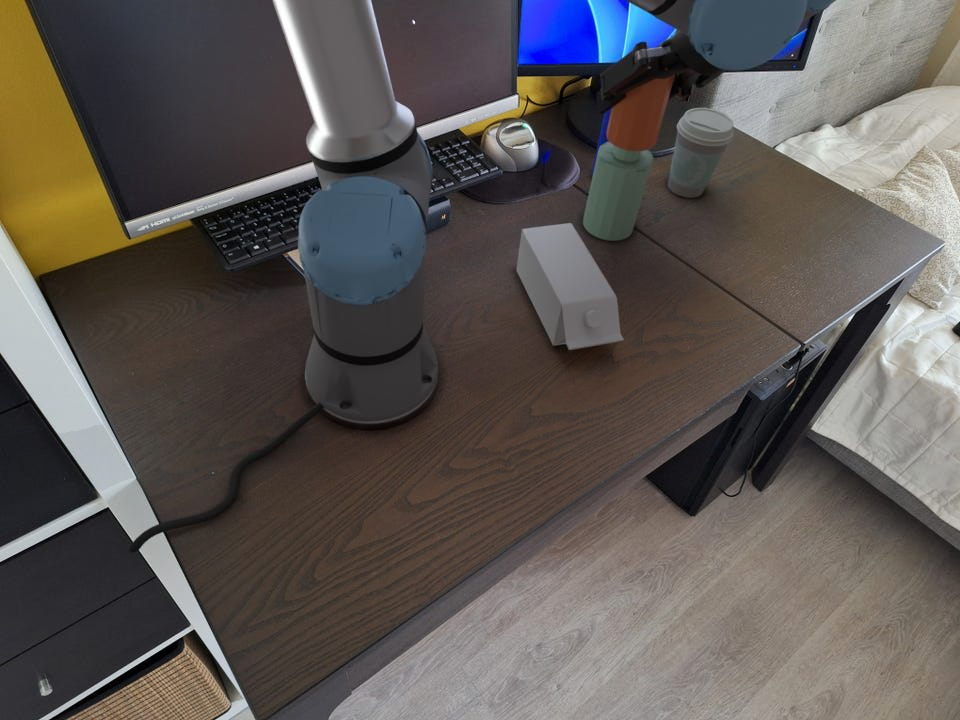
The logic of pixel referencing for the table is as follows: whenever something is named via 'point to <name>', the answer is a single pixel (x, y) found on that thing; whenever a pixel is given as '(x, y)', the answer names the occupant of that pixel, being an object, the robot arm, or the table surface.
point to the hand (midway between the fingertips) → (625, 101)
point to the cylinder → (639, 116)
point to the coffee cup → (698, 150)
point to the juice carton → (567, 287)
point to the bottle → (616, 191)
